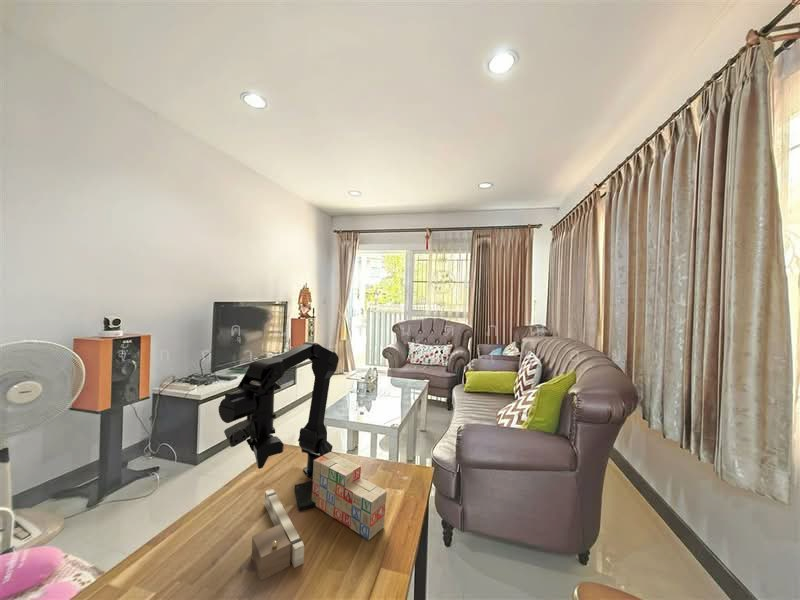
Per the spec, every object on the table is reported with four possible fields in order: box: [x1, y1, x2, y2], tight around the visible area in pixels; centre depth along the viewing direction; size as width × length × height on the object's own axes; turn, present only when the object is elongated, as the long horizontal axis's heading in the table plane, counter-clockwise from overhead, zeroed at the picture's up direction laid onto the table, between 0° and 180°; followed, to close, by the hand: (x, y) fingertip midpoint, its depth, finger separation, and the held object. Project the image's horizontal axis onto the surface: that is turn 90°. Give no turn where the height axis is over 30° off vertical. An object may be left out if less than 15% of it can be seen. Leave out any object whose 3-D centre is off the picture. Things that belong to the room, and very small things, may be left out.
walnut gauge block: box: [250, 524, 291, 582], centre depth 69 cm, size 7×6×6 cm
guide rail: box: [264, 488, 305, 568], centre depth 77 cm, size 24×2×4 cm, turn 37°
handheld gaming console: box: [294, 479, 316, 512], centre depth 91 cm, size 12×7×10 cm
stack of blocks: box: [312, 451, 388, 541], centre depth 84 cm, size 21×6×12 cm, turn 55°
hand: (260, 467), depth 83 cm, fingers closed
